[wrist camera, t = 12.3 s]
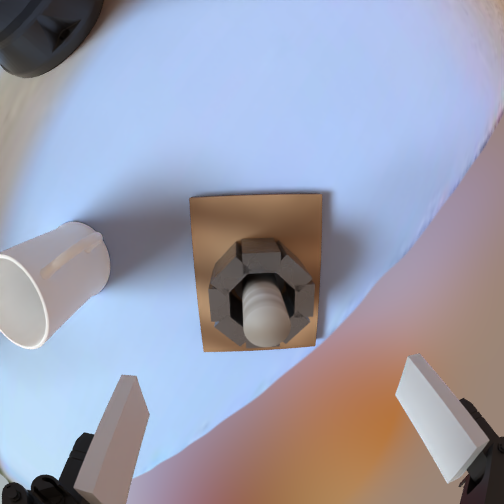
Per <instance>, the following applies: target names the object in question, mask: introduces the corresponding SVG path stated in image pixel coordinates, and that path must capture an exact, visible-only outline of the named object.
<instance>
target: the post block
mask: <svg viewBox="0 0 504 504" xmlns="http://www.w3.org/2000/svg"><path fill="white" fill-rule="evenodd" d="M189 201H190V217H191V232H192V245H193V257H194V269H195V279H196V289H197V299H198V308H199V317H200V326H201V334H202V342H203V349H204V352H227V351H254V350H272V349H286V348H299V347H310V346H315V343H316V332H317V319H318V304H319V288H320V268H321V239H322V194H253V195H226V196H205V197H191V198H189ZM251 238H274V240H275V242H277V241H278V240H280V241H281V242H282V243H283V244H284V245H285V246H286V247H287V248H288V249H289V250H290V251H291V252H292V253H293V254H294V255H295V256H296V257H297V258H299V259H300V261H301V262H302V263H303V265H304V266H305V268H306V269H307V271H308V272H309V274H310V275H311V277H312V278H313V279H312V281H313V282H314V284H315V293H314V311H313V317H308V318H309V320H310V323H309V324H308V325H307V326H305V327H304V328H303V329H302V330H301V331H300V332H299V333H298V334H297V335H295V336H294V337H293V338H292V339H291V340H290V341H289V342H288V343H286V344H285V343H284V342H283V341H284V340H285V339H286V338H287V336H288V335H289V333H290V329H291V322H290V319H289V316H288V313H287V310H286V307H285V304H284V301H283V298H282V295H281V294H282V293H283V292H284V291H285V285H286V281H285V280H284V279H283V278H281V277H280V276H279V275H278V274H277V273H254V274H247V275H246V276H245V277H244V278H243V279H242V280H241V281H240V282H239V283H238V284H237V285H236V286H235V287H234V288H233V289H232V294H233V295H235V296H236V297H237V298H238V299H239V300H241V301H242V302H243V329H244V334H245V336H246V338H247V339H248V340H249V341H250V342H251V343H252V344H254V345H256V346H259V347H264V348H246V342H245V343H244V344H243V345H242V346H241V347H240V346H239V345H237V344H236V343H235V342H233V341H232V340H231V339H229V338H228V337H227V336H225V335H224V334H223V333H221V332H220V331H219V330H217V329H216V328H215V327H214V325H215V322H211V315H210V305H209V294H208V288H209V284H210V280H211V276H212V272H213V269H214V266H215V263H216V262H217V261H218V260H219V259H220V258H221V257H222V256H223V255H224V254H225V253H226V251H227V250H228V249H229V248H230V247H231V246H232V245H233V244H234V243H235V242H237V243H239V244H240V245H241V246H242V241H241V239H251ZM278 344H280V347H272V346H276V345H278Z"/></svg>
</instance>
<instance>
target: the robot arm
mask: <svg viewBox="0 0 504 504" xmlns="http://www.w3.org/2000/svg"><path fill="white" fill-rule="evenodd" d="M102 4H103V0H0V65H1V66H2V68H3V69H4V70H5V71H6V72H8V73H10V74H12V75H15V76H18V77H22V78H32V77H36V76H39V75H41V74H44V73H46V72H48V71H49V70H51V69H53V68H54V67H56V66H57V65H58V64H60V63H61V62H62V61H63V60H65V59H66V58H67V57H68V56H69V55H70V54H71V53H72V52H73V51H74V50H75V49H76V48H77V47H78V46H79V45H80V44H81V42H82V41H83V40H84V39H85V37H86V36H87V35H88V33H89V32H90V30H91V29H92V27H93V26H94V24H95V22H96V20H97V18H98V16H99V14H100V11H101V8H102ZM396 397H397V399H398V400H399V402H400V403H401V405H402V407H403V408H404V410H405V412H406V413H407V415H408V416H409V418H410V420H411V422H412V423H413V425H414V426H415V428H416V430H417V432H418V433H419V435H420V437H421V438H422V440H423V442H424V443H425V445H426V447H427V448H428V450H429V452H430V454H431V455H432V457H433V459H434V461H435V462H436V464H437V466H438V468H439V469H440V471H441V473H442V475H443V476H444V478H445V480H446V482H447V483H450V482H452V481H454V480H456V479H457V478H459V477H461V476H462V475H463V473H464V472H465V471H466V470H467V471H468V473H469V474H468V475H467V476H466V477H465V478H464V479H463V481H462V482H461V483H460V485H459V487H461V486H462V485H463V484H464V483H465V485H464V489H463V493H462V497H461V501H460V504H504V437H498V435H497V434H496V433H495V432H494V431H493V429H492V428H491V427H490V425H489V424H488V423H487V422H486V420H485V419H484V418H483V417H482V415H481V414H480V413H479V412H477V409H476V408H475V407H474V406H473V404H472V403H470V402H469V401H467V400H466V399H464V398H463V399H461V400H458V399H457V397H456V396H455V395H454V394H453V393H452V391H451V390H450V389H449V388H448V386H447V385H446V384H445V383H444V382H443V380H442V379H441V378H440V377H439V375H438V374H437V373H436V372H435V371H434V370H433V368H432V367H431V366H430V365H429V364H428V363H427V362H426V360H425V359H424V358H423V357H422V356H421V354H415V355H411V356H408V357H407V361H406V364H405V367H404V371H403V373H402V377H401V380H400V383H399V386H398V389H397V391H396ZM149 415H150V414H149V412H148V409H147V406H146V403H145V400H144V397H143V395H142V392H141V389H140V386H139V383H138V379H137V376H131V375H121V377H120V380H119V382H118V384H117V386H116V388H115V390H114V392H113V394H112V397H111V399H110V401H109V403H108V405H107V408H106V410H105V412H104V414H103V417H102V419H101V421H100V423H99V426H98V428H97V430H96V433H95V435H94V434H89V433H85V432H84V433H83V434H82V435H81V436H80V437H79V438H78V439H77V440H76V442H75V444H74V446H73V450H72V451H71V453H70V455H69V458H68V460H67V462H66V464H65V467H64V469H63V471H62V474H61V476H60V478H59V481H58V480H57V479H56V478H54V477H53V476H50V475H40V476H38V477H36V478H35V479H34V480H33V482H32V485H31V490H26V489H25V488H24V487H23V486H22V485H20V484H19V483H15V482H12V483H9V484H7V485H5V487H4V488H3V491H2V504H126V501H127V497H128V493H129V489H130V485H131V481H132V477H133V473H134V469H135V466H136V462H137V458H138V454H139V451H140V447H141V443H142V440H143V436H144V433H145V429H146V426H147V422H148V419H149Z"/></svg>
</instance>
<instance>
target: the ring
mask: <svg viewBox="0 0 504 504" xmlns="http://www.w3.org/2000/svg"><path fill="white" fill-rule="evenodd" d="M241 241H242V246H241V245H240V244H239V243H237V242H235V243H234V244H233V245H232V246H231V247H230V248H229V249H228V250H227V251H226V253H225V254H224V255H223V256H222V257H221V258H220V259H219V260H218V261H217V262H216V263H215V266H214V269H213V272H212V276H211V280H210V284H209V288H208V294H209V305H210V315H211V322H215V325H214V327H215V328H216V329H217V330H219V331H220V332H221V333H223V334H224V335H225V336H227V337H228V338H229V339H231V340H232V341H233V342H235V343H236V344H237V345H239V346H240V347H241V346H242V345H243V344H244V343H245V342H246V348H264V347H259V346H256V345H254V344H252V343H251V342H250V341H249V340H248V339H247V338H246V336H245V334H244V329H243V302H242V301H241V300H239V299H238V298H237V297H236V296H235V295H233V294H232V289H233V288H234V287H235V286H236V285H237V284H238V283H239V282H240V281H241V280H242V279H243V278H244V277H245V276H246V275H247V274H254V273H277V274H278V275H279V276H280V277H281V278H283V279H284V280H285V281H286V285H285V291H284V292H283V293H282V294H281V295H282V298H283V301H284V304H285V307H286V310H287V313H288V316H289V319H290V322H291V329H290V333H289V335H288V336H287V338H286V339H285V340H284V341H283V342H284V343H285V344H286V343H288V342H289V341H290V340H291V339H292V338H293V337H294V336H295V335H297V334H298V333H299V332H300V331H301V330H302V329H303V328H304V327H305V326H307V325H308V324H309V323H310V320H309V318H308V317H313V311H314V293H315V284H314V282H313V281H312V279H313V278H312V277H311V275H310V274H309V272H308V271H307V269H306V268H305V266H304V265H303V263H302V262H301V261H300V259H299V258H297V257H296V256H295V255H294V254H293V253H292V252H291V251H290V250H289V249H288V248H287V247H286V246H285V245H284V244H283V243H282V242H281V241H280V240H278V241H277V242H275V240H274V238H251V239H241ZM272 347H280V344H278V345H276V346H272Z"/></svg>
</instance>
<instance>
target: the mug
mask: <svg viewBox="0 0 504 504" xmlns="http://www.w3.org/2000/svg"><path fill="white" fill-rule="evenodd" d="M109 274H110V258H109V254H108V250H107V248H106V245H105V243H104V242H103V236H102V234H101V233H100V232H96V231H95V230H93V229H92V228H91V227H89V226H88V225H86V224H83V223H80V222H68V223H65V224H62V225H61V226H59V227H58V228H57V229H55V230H53V231H50V232H48V233H45V234H43V235H40V236H38V237H35V238H33V239H30V240H28V241H26V242H23V243H21V244H19V245H16V246H14V247H12V248H9V249H7V250H5V251H3V252H0V331H1V332H2V333H3V334H4V335H5V336H6V337H7V338H8V339H9V340H10V341H12V342H13V343H14V344H16V345H18V346H20V347H22V348H26V349H36V348H39V347H41V346H42V345H43V344H44V343H45V342H46V341H47V340H48V339H49V338H50V337H51V336H52V335H53V334H54V333H55V332H56V331H57V330H58V329H59V328H60V327H61V326H62V325H63V324H64V323H65V322H66V321H67V320H68V319H69V318H70V317H71V316H72V315H73V314H74V313H75V312H76V311H77V310H78V309H79V308H80V307H81V306H82V305H83V304H84V303H85V302H86V301H87V300H88V299H89V298H91V297H92V296H94V295H96V294H98V293H99V292H100V291H101V290H102V289H103V288H104V287H105V285H106V283H107V281H108V278H109Z"/></svg>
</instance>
